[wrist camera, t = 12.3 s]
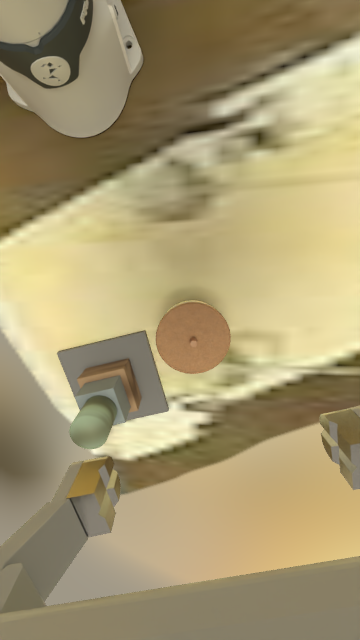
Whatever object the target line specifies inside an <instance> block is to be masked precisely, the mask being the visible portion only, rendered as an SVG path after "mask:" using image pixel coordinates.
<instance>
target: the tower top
mask: <svg viewBox="0 0 360 640" xmlns="http://www.w3.org/2000/svg"><path fill="white" fill-rule="evenodd" d="M96 395H102V396H106V397H108V398H110V399H111V400H112V401H113V402H114V403H115V404H116V407H117V415H116V418H115V420H114V423H113V425H116V424H120V423H125V422H126V420H127V417H128V414H129V411H130V408H131V406H130V403H129V400H128V397H127V394H126V391H125V389H124V386H123V383H122V380H121V377H120V375H118V376H114V377H110V378H105V379H101V380H97V381H92V382H88V383H85V384H84V385H83V386H82V388H81V389H80V390H79V392H78V393H77V394H76V396H75V399H76V401H77V404H78V406H79V409H80V410H81V409H82V407H83V405H84V404H85V402H86V401H87V400H88V399H89V398H90V397H92V396H96Z"/></svg>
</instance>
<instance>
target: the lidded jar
mask: <svg viewBox="0 0 360 640" xmlns="http://www.w3.org/2000/svg"><path fill="white" fill-rule="evenodd" d="M156 345H157V349H158V351H159V354H160V356H161V357H162V359H163V360H164V361H165V362H166V363H167V364H168V365H169V366H170V367H172V368H174V369H175V370H178V371H180V372H184V373H190V374H195V373H202V372H205V371H208V370H210V369H212V368H214V367H215V366H217V365H218V364H219V363H220V362H221V361H222V360H223V358H224V357H225V356H226V354H227V352H228V349H229V346H230V330H229V327H228V324H227V322H226V320H225V319H224V317H223V316H222V315H221V314H220V313H219V312H218V311H217V310H216V309H215V308H214V307H212V306H211V305H209V304H207V303H205V302H202V301H197V300H188V301H183V302H180V303H178V304H176V305H174V306H173V307H172V308H170V309H169V310H168V311H167V312H166V313H165V315H164V316H163V318H162V320H161V321H160V323H159V326H158V329H157V332H156Z"/></svg>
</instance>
